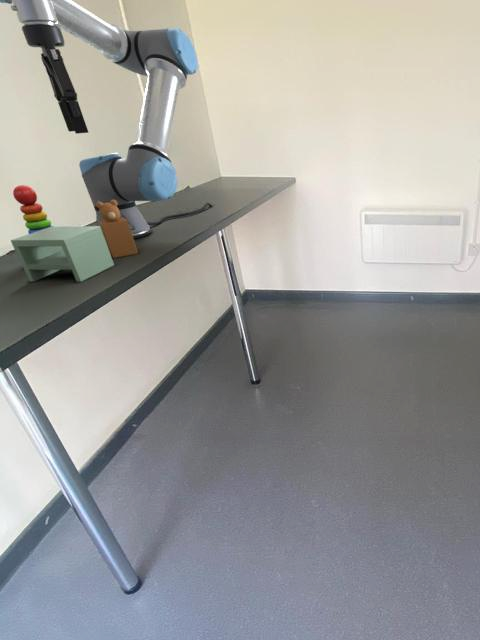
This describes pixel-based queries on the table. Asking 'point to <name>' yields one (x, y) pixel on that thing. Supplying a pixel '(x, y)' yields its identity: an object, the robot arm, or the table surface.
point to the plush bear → (116, 230)
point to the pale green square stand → (63, 252)
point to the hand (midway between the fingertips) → (78, 132)
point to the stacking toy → (31, 209)
